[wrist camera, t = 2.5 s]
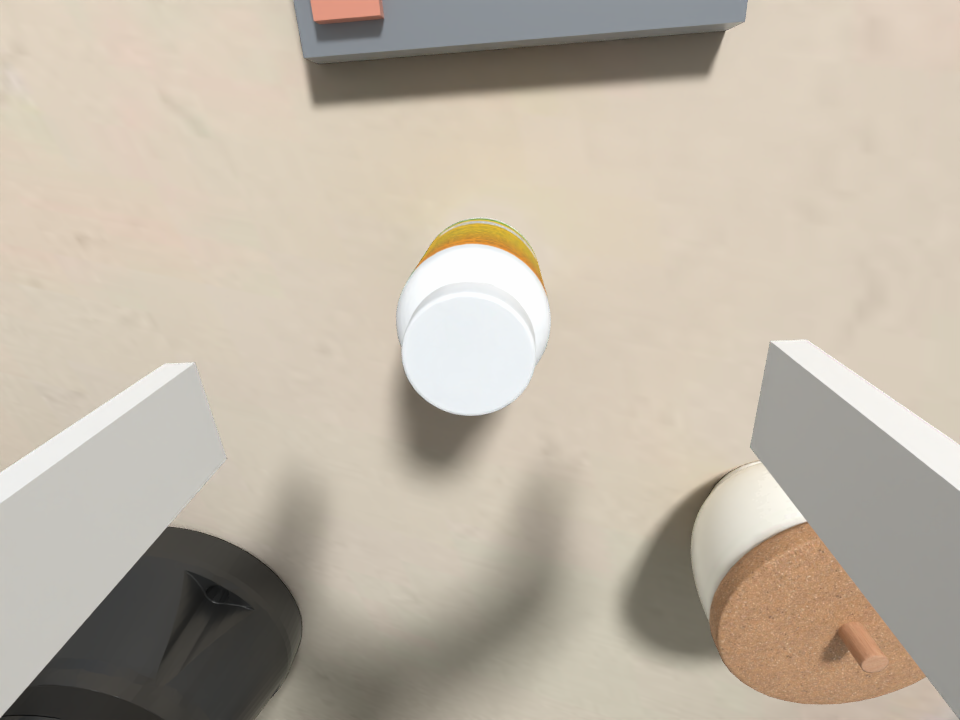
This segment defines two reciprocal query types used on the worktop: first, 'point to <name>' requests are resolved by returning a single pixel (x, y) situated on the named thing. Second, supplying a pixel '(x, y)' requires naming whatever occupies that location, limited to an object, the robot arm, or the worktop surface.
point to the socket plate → (493, 24)
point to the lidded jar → (787, 600)
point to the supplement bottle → (473, 318)
